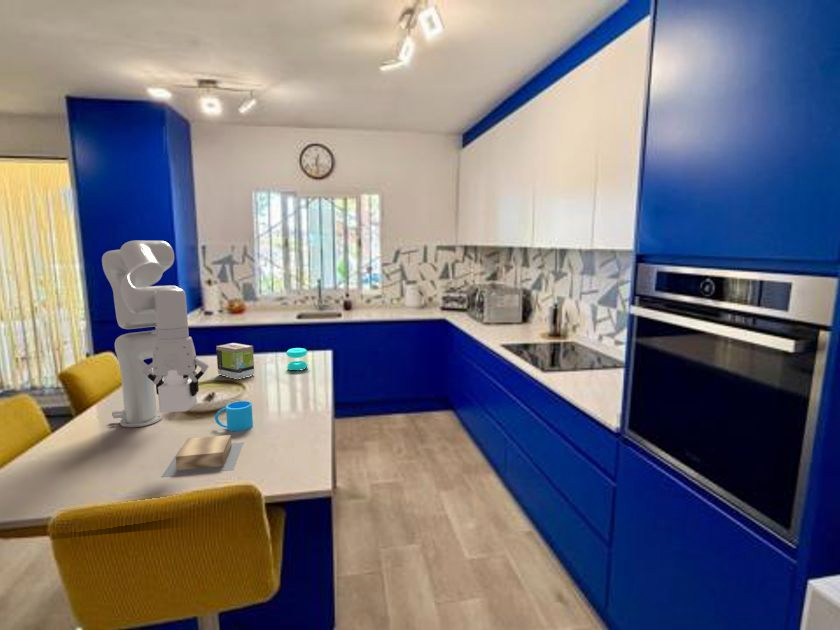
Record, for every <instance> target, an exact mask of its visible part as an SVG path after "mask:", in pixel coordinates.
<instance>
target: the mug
mask: <svg viewBox="0 0 840 630" xmlns="http://www.w3.org/2000/svg"><path fill="white" fill-rule="evenodd" d="M224 411H225V414H226V415H225V416H226V424H224V423H222V422H221V421H220V420H219V415H220V414H221V413H222V412H224ZM214 416H215V417H214V419H215V423H216V424H217V425H218V426H219V427H221V428H226V430H228V431H231V432H242V431H245V430H249V429H251V428H254V420H253V419H254V418H253V405H252V402H251V401H247V400H237V401H234V402H230V403H228V404H226V406H225V407H223V408H221V409H219V410H218V411H216V413H215V415H214Z"/></svg>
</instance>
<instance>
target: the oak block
mask: <svg viewBox="0 0 840 630" xmlns="http://www.w3.org/2000/svg"><path fill="white" fill-rule="evenodd" d="M231 443H232V435H231V434H225V435H215V436H204V437H203V436H201V437H190V438H187V439H186V440H185V442H184V444H182V446H181V447H180V448H181V449H180V448H179V450H180V451H179V450H178V451H179V452H178V451H177V453H178V454H177V453H176V454H177V455H176V454H175V456H176V466H177V470H187V469H197V468H207V467H217V466H224V464H225V462H226V460H227V457H228V455H229V452H230V450H231V448H232V445H231Z"/></svg>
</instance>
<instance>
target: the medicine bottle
mask: <svg viewBox="0 0 840 630" xmlns="http://www.w3.org/2000/svg"><path fill="white" fill-rule="evenodd" d="M163 381H164V384H162V385H161V386H159V387H158V394H157V395H158V405H159V407H158V408H159V413H163V412H164V413H168V412H169V413H170V412H171V413H172V412H173V413H175V412H177V413H179V412H188V411H189V410H190V409H191V408H192V407H193V406H195V405H197V403H198V398H197V396H198V395H197V394H196V395H195V396H191V385H190V383H191V382H192V380H191V379H190V377H189V376H188V375H178V373H177V371H176V370H170V371H168V375H167V376H164V377H163Z"/></svg>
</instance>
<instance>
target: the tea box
mask: <svg viewBox="0 0 840 630" xmlns="http://www.w3.org/2000/svg"><path fill="white" fill-rule="evenodd" d="M215 347H216V361H217V362H216V363H217V375H218V374H221V375H225V376H228V377H232V378H236V379H239V378H243V377H246V376H250V375H253V374H254V375H255V362H254V361H255V358H254V346H253V345H249V344H244V343H243V344H242V343H237V342H231V343H226V344H220V345H216V346H215Z"/></svg>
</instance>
